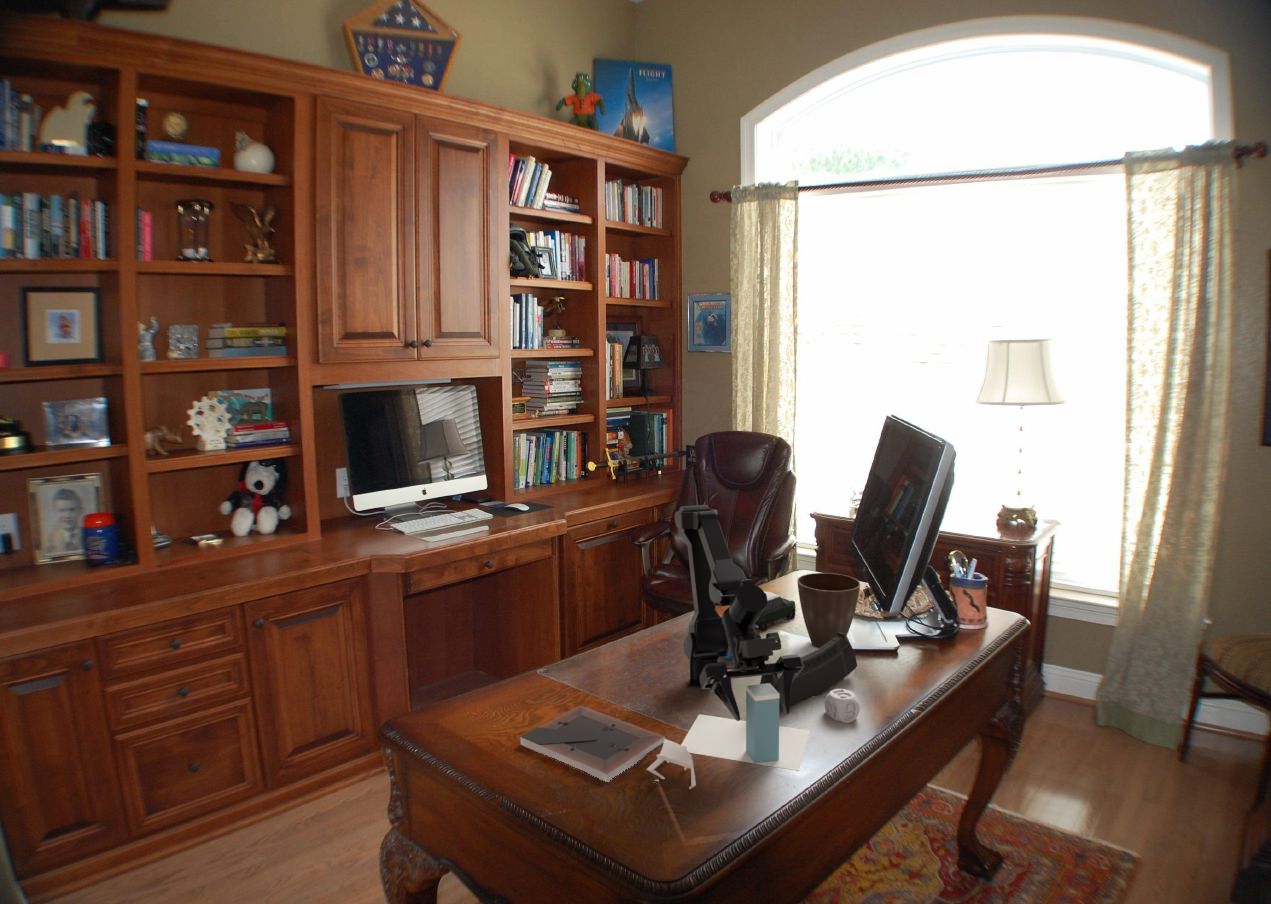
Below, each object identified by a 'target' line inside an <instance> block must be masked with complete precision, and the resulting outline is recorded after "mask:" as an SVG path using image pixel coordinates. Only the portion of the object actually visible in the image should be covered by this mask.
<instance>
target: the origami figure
mask: <svg viewBox="0 0 1271 904" xmlns="http://www.w3.org/2000/svg"><path fill="white" fill-rule="evenodd" d="M655 756H656V760H654V762H653V763H651V764H650V765H649V766H648V767H647V768H646V769H645V770H646V771H648V772H650V773H652V774H653V775H654V776H655V775H656V776H657V777H659V778H660V779H661V780H665V779H666V778H665V777H664V776H663V775H662V774H660V773H659V772H658V771H656V770H655V769H657V768H658V767H659V766H660V765H661V764H663V762H665V761H666V763H667V764H669V763H672V764H675V765H679V766H681V767H684V768H683V770H684V771H685V772H686V771H687V769H690V778H691V779H690V780H691V783H690V784H691V785H690V786H689V788H688V789H689V790H691V789H692V788H694V787H696V786H697V784H696V783H697V782H696V774H695V769H694V768H695V767H694V761H693V760H694V759H693V757H692V753H689V752H688V750H687V748H686V747H685V746H682V745H681V744H679V743H677V742H675V741H671V740H670V739H667V738H665V740H664V742H663V743H662V747H661V750H660V753H659V754H656V755H655ZM660 779H658V778H657V779H655V780H654V781H658V783H660Z"/></svg>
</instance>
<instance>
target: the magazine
mask: <svg viewBox="0 0 1271 904" xmlns="http://www.w3.org/2000/svg"><path fill="white" fill-rule="evenodd" d="M800 658H801V659H802V660H803V664H804V669H803V670H802V671H801V673H800V674H799V675H798V677H797V678H795V679H794V680H793V681H792V683H791V689H790V706H789V709H790V708H792V707H794V706H796V705H799V704H800V703H803V702H805V701H807V700H809V699H811V698H813V697H819V696H821V695H823V694H825V693H826V692H828V691H830V690H831V689H832V688H833V687H835V686H836V685H838V684H839V683H840V682H844V681H845V679H846V677H848V676H849V675H851V673H852V672H853V671H854V670H855V669H857V666H858V661H857V657H856V651H855V649H854V648H853V646H852V644H851V642H850V640H849V637H848V635H847V636H846V634H845V633H842V632H838V633H837V636H835V637H834V638H832V639H831V640H830V641H829V642H827V643H826V644H825V645H823V646H822V647H820V648H817V649H815V650H813V651H812V652H811V651H810V653H807V654H806V655H802V656H800ZM777 680H778V679H777V678H775V675H774V674H770V675H761V677H760V682H759V684H767V683H770V684H771V685H772V686H773V687H774V688H775V689H776V691H777V692H778V690H777V687H776V682H777ZM782 711H783V712H784V710H783V708H782V704H781V701H780V698H779V713H780V712H782Z"/></svg>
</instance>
